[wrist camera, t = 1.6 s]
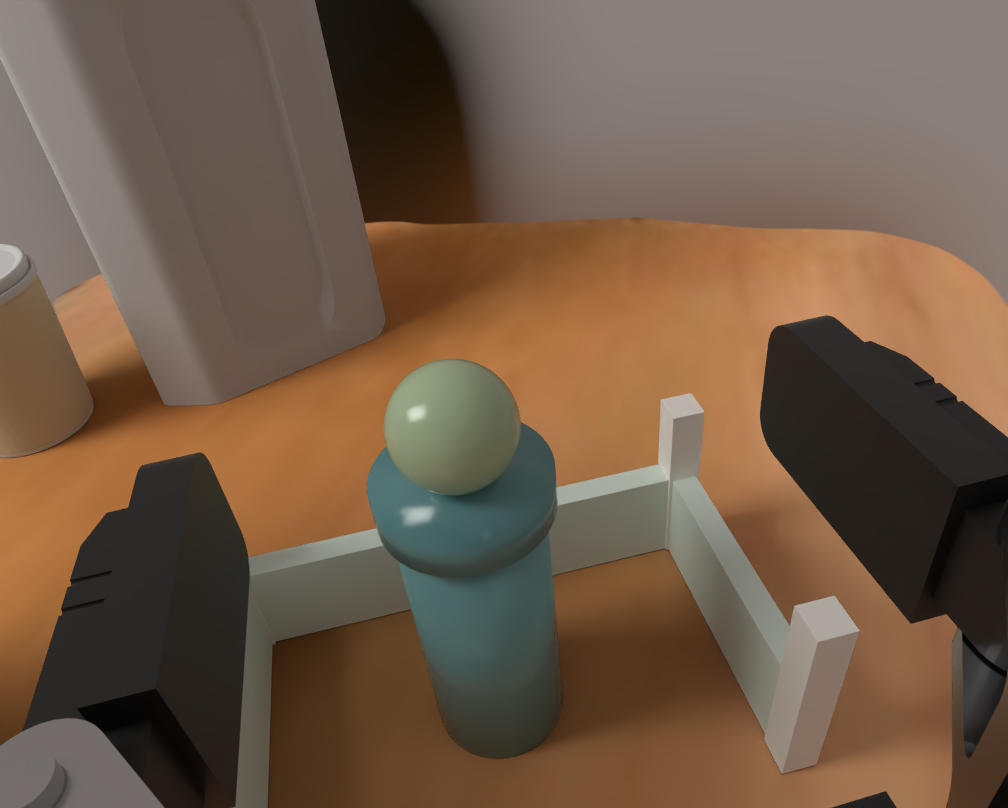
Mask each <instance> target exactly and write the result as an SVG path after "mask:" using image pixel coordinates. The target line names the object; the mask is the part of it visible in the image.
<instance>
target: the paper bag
mask: <svg viewBox="0 0 1008 808" xmlns="http://www.w3.org/2000/svg"><path fill="white" fill-rule="evenodd" d="M0 59H1V61H2V63H3V65H4V67H5V69H6V71H7V74H8V76H9V78H10V80H11V82H12V84H13V86H14V88H15V90H16V93H17V95H18V97H19V99H20V101H21V103H22V105H23V107H24V110H25V111H26V113H27V116H28V118H29V120H30V122H31V124H32V126H33V129H34V130H35V133H36V135H37V137H38V139H39V141H40V143H41V145H42V148H43V150H44V152H45V154H46V156H47V158H48V160H49V162H50V164H51V166H52V168H53V171H54V173H55V175H56V177H57V179H58V181H59V183H60V186H61V188H62V190H63V192H64V194H65V196H66V198H67V200H68V202H69V204H70V207H71V209H72V211H73V213H74V215H75V217H76V219H77V221H78V223H79V226H80V228H81V230H82V232H83V234H84V236H85V238H86V241H87V243H88V245H89V247H90V249H91V251H92V253H93V255H94V257H95V260H96V261H97V264H98V266H99V268H100V270H101V272H102V274H103V276H104V279H105V281H106V283H107V285H108V287H109V289H110V291H111V293H112V295H113V298H114V300H115V302H116V304H117V306H118V308H119V310H120V312H121V314H122V317H123V319H124V321H125V323H126V325H127V327H128V329H129V331H130V333H131V336H132V338H133V340H134V342H135V344H136V346H137V348H138V350H139V352H140V355H141V357H142V359H143V361H144V363H145V365H146V367H147V369H148V372H149V374H150V376H151V378H152V380H153V382H154V384H155V386H156V388H157V391H158V393H159V395H160V397H161V399H162V401H163V403H164V404H165V405H168V406H185V405H212V404H218V403H222V402H225V401H228V400H230V399H232V398H235V397H237V396H240V395H242V394H244V393H247V392H249V391H252V390H254V389H256V388H259V387H261V386H263V385H266V384H268V383H271V382H273V381H275V380H278V379H280V378H283V377H285V376H287V375H290V374H292V373H295V372H297V371H299V370H302V369H304V368H306V367H309V366H311V365H314V364H316V363H318V362H321V361H323V360H326V359H328V358H330V357H333V356H335V355H337V354H340V353H342V352H345V351H347V350H349V349H352V348H354V347H357V346H359V345H361V344H364V343H366V342H369V341H371V340H373V339H375V338H377V337H378V336H379V335H380V334H381V333H382V331H383V328H384V325H385V322H386V317H385V313H384V309H383V304H382V300H381V295H380V291H379V286H378V282H377V277H376V273H375V268H374V264H373V259H372V255H371V250H370V246H369V241H368V237H367V232H366V228H365V224H364V219H363V215H362V210H361V206H360V201H359V197H358V192H357V188H356V183H355V179H354V175H353V170H352V165H351V161H350V156H349V152H348V148H347V143H346V139H345V134H344V130H343V125H342V121H341V116H340V112H339V107H338V103H337V99H336V94H335V90H334V85H333V80H332V76H331V72H330V67H329V63H328V58H327V54H326V49H325V45H324V40H323V36H322V31H321V27H320V22H319V18H318V13H317V9H316V4H315V0H0Z"/></svg>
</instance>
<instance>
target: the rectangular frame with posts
mask: <svg viewBox="0 0 1008 808" xmlns="http://www.w3.org/2000/svg"><path fill="white" fill-rule="evenodd" d="M703 422H704V411H703V409H702V408H701V407H700V405H699V404H698V402H697V401H696V400H695V398H694V397H693V395H692V394H691V393H690V394H685V395H681V396H676V397H671V398H667V399H662V400H661V410H660V434H659V458H658V465H654V466H650V467H645V468H641V469H636V470H632V471H628V472H623V473H619V474H614V475H610V476H605V477H601V478H597V479H592V480H588V481H583V482H579V483H575V484H570V485H566V486H561V487H557V499H558V505H557V513H556V517H555V520H554V523H553V525H552V527H551V529H550V531H549V541H550V553H551V565H552V575H556V574H560V573H564V572H568V571H572V570H577V569H581V568H585V567H589V566H593V565H598V564H602V563H606V562H610V561H614V560H618V559H623V558H627V557H631V556H635V555H639V554H643V553H648V552H652V551H656V550H660V549H664V548H665V549H666V550H669V551H670V553H671V555H672V557H673V559H674V561H675V563H676V565H677V567H678V568H679V570H680V572H681V574H682V576H683V578H684V580H685V582H686V584H687V586H688V588H689V589H690V591H691V593H692V595H693V597H694V599H695V601H696V603H697V605H698V607H699V609H700V611H701V612H702V614H703V616H704V618H705V620H706V622H707V624H708V626H709V628H710V630H711V632H712V633H713V635H714V637H715V639H716V641H717V643H718V645H719V647H720V649H721V651H722V653H723V655H724V656H725V658H726V660H727V662H728V664H729V666H730V668H731V670H732V672H733V674H734V676H735V677H736V679H737V681H738V683H739V685H740V687H741V689H742V691H743V693H744V695H745V697H746V699H747V700H748V702H749V704H750V706H751V708H752V710H753V712H754V714H755V716H756V718H757V720H758V722H759V723H760V725H761V727H762V729H763V731H764V733H765V737H764V740H765V742H766V744H767V746H768V748H769V750H770V752H771V754H772V756H773V758H774V760H775V762H776V763H777V765H778V767H779V769H780V771H781V773H782V774H784V773H788V772H792V771H795V770H799V769H802V768H806V767H809V766H813V765H817V762H818V759H819V756H820V752H821V749H822V746H823V743H824V740H825V737H826V734H827V731H828V728H829V725H830V722H831V719H832V715H833V712H834V709H835V706H836V703H837V700H838V697H839V694H840V691H841V688H842V685H843V681H844V678H845V675H846V672H847V669H848V666H849V663H850V660H851V657H852V654H853V651H854V648H855V644H856V641H857V638H858V635H859V632H860V631H859V629H858V628H857V626H856V625H855V623H854V622H853V621H852V619H851V618H850V616H849V615H848V614H847V612H846V611H845V609H844V608H843V607H842V605H841V604H840V602H839V601H838V600H837V598H836V597H835V596H831V597H827V598H823V599H819V600H815V601H811V602H807V603H803V604H799V605H795V606H794V610H793V614H792V619H791V623H790V626H789V624H788V623H787V621H786V619H785V618H784V616H783V615H782V613H781V611H780V610H779V608H778V607H777V605H776V603H775V602H774V600H773V599H772V597H771V595H770V594H769V592H768V591H767V589H766V587H765V586H764V584H763V583H762V581H761V579H760V578H759V576H758V575H757V573H756V571H755V570H754V568H753V567H752V565H751V563H750V562H749V560H748V559H747V557H746V555H745V554H744V552H743V551H742V549H741V547H740V546H739V544H738V543H737V541H736V539H735V538H734V536H733V535H732V533H731V531H730V530H729V528H728V527H727V525H726V523H725V522H724V520H723V519H722V517H721V515H720V514H719V512H718V511H717V509H716V507H715V506H714V504H713V503H712V501H711V499H710V498H709V496H708V495H707V493H706V491H705V490H704V488H703V487H702V485H701V484H700V482H699V480H698V479H699V468H700V457H701V445H702V434H703ZM248 559H249V568H250V583H249V599H248V615H247V631H246V647H245V663H244V679H243V695H242V711H241V727H240V743H239V759H238V775H237V791H236V807H233V808H268V779H269V746H270V712H271V679H272V645H274V644H276V641H280V640H285V639H289V638H293V637H297V636H301V635H305V634H310V633H314V632H318V631H322V630H326V629H330V628H335V627H339V626H343V625H347V624H351V623H356V622H360V621H364V620H368V619H372V618H376V617H381V616H385V615H389V614H393V613H397V612H401V611H406V610H410V609H411V607H410V603H409V599H408V596H407V592H406V589H405V585H404V581H403V578H402V574H401V570H400V567H399V563H398V560H396V559H395V558H394V557H393V556H392V555H391V554H390V553H389V552H388V551H387V550H386V548H385V547H384V545H383V544H382V542H381V540H380V537H379V535H378V532H377V528H376V529H371V530H367V531H362V532H358V533H354V534H349V535H345V536H340V537H336V538H331V539H327V540H323V541H318V542H314V543H309V544H305V545H300V546H296V547H292V548H287V549H283V550H278V551H274V552H270V553H265V554H261V555H256V556H252V557H248Z"/></svg>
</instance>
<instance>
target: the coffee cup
mask: <svg viewBox="0 0 1008 808" xmlns="http://www.w3.org/2000/svg"><path fill="white" fill-rule="evenodd" d="M93 408H94V404H93V398H92V396H91V394H90V391H89V389H88V386H87V384H86V381H85V379H84V377H83V375H82V372H81V370H80V368H79V365H78V363H77V361H76V359H75V356H74V354H73V352H72V350H71V347H70V345H69V343H68V341H67V338H66V336H65V334H64V331H63V329H62V327H61V325H60V322H59V320H58V318H57V316H56V313H55V311H54V309H53V307H52V305H51V302H50V300H49V298H48V296H47V294H46V292H45V289H44V287H43V285H42V283H41V281H40V278H39V277H38V275H37V267H36V265H35V262H34V261H33V260H32V258H31V257H29V256H28V255H26V254H24V252H23V251H22V250H21V249H19V248H17V247H15V246H12V245H7V244H0V457H1V458H14V457H21V456H26V455H30V454H34V453H37V452H40V451H43V450H45V449H48V448H50V447H52V446H54V445H56V444H58V443H60V442H62V441H64V440H65V439H67V438H68V437H70V436H72V435H73V434H74V433H76V432H77V431H78V430H79V429H80V428H81V427H82V426H84V424H85V423H86V422H87V421H88V420H89V418H90V416H91V414H92V412H93Z"/></svg>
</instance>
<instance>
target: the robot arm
mask: <svg viewBox="0 0 1008 808" xmlns="http://www.w3.org/2000/svg"><path fill="white" fill-rule="evenodd" d="M956 397H957V396H955V395H954V394H953V393H952V392H951V391H949V390H948V389H947V388H946V387H944V386H943V385H942V384H941V383H937V384H936V383H935V381H934V378H933V377H932V376H931V375H929V374H928V373H927V372H926V371H924V370H923V369H922V368H921V367H919V366H918V365H917V364H916V363H914V362H913V361H912V360H911V359H909V358H908V357H907V356H904V355H902V354H900V353H897V352H895V351H893V350H890V349H888V348H886V347H883V346H881V345H879V344H876V343H874V342H872V341H869V342H863V341H862V340H861V339H860V338H859V337H857V336H856V335H855V334H854V333H853V332H851V331H850V330H849V329H848V328H847V327H845V326H844V325H843V324H842V323H841V322H839V321H838V320H837V319H835V318H834V317H832V316H827V315H826V316H822V317H817V318H812V319H808V320H803V321H799V322H794V323H790V324H785V325H781V326H777V327H776V328H774V329H773V331H772V332H771V335H770V338H769V343H768V351H767V359H766V367H765V376H764V384H763V392H762V400H761V409H760V421H761V427H762V432H763V435H764V438H765V441H766V443H767V445H768V447H769V449H770V450H771V452H772V453H773V455H774V456H775V457H776V458H777V460H778V461H779V462H780V463H781V465H782V466H783V467H784V468H785V469H786V471H787V472H788V473H789V474H790V476H791V477H792V478H793V479H794V481H795V482H796V483H797V484H798V485H799V487H800V488H801V489H802V490H803V492H804V493H805V494H806V495H807V497H808V498H809V499H810V500H811V501H812V503H813V504H814V505H815V506H816V508H817V509H818V510H819V511H820V513H821V514H822V515H823V516H824V517H825V519H826V520H827V521H828V522H829V524H830V525H831V526H832V527H833V529H834V530H835V531H836V532H837V533H838V535H839V536H840V537H841V538H842V540H843V541H844V542H845V543H846V545H847V546H848V547H849V548H850V549H851V551H852V552H853V553H854V554H855V556H856V557H857V558H858V559H859V561H860V562H861V563H862V564H863V565H864V567H865V568H866V569H867V570H868V572H869V573H870V574H871V575H872V577H873V578H874V579H875V580H876V581H877V583H878V584H879V585H880V586H881V588H882V589H883V590H884V591H885V593H886V594H887V595H888V596H889V597H890V599H891V600H892V601H893V602H894V604H895V605H896V606H897V607H898V609H899V610H900V611H901V612H902V613H903V615H904V616H905V617H906V618H907V620H908V621H909V622H910V623H911V624H912V623H915V622H919V621H923V620H926V619H930V618H934V617H937V616H941V615H944V614H947V615H948V616H949V618H950V619H951V620H952V621H953V622H954V623H955V624H956V626H957V629H956V632H955V634H954V637H953V640H952V781H951V788H950V793H949V798H948V802H947V806H946V808H1008V437H1007V436H1005V435H1004V434H1003V433H1002V432H1000V431H999V430H998V429H997V428H995V427H994V426H993V425H992V424H990V423H989V422H988V421H987V420H985V419H984V418H983V417H982V416H980V415H979V414H978V413H977V412H975V411H974V410H973V409H972V408H970V407H969V406H968V405H967V404H965V403H964V402H963V401H960V402H958V401H957V398H956ZM70 581H71V586H70V587H68V588H67V591H66V595H65V598H64V601H63V604H62V607H61V610H62V616H59V617H58V620H57V623H56V626H55V630H54V633H53V636H52V639H51V642H50V646H49V649H48V652H47V655H46V658H45V662H44V665H43V668H42V671H41V674H40V677H39V681H38V684H37V687H36V690H35V693H34V697H33V700H32V703H31V706H30V709H29V713H28V716H27V719H26V722H25V725H24V728H23V730H22V732H21V733H19V734H18V735H16V736H14V737H12V738H11V739H9V740H8V741H7V742H5V743H4V744H2V745H1V746H0V808H233V807H236V791H237V775H238V759H239V743H240V727H241V711H242V695H243V679H244V663H245V647H246V631H247V615H248V599H249V583H250V568H249V559H248V553H247V549H246V545H245V541H244V538H243V535H242V532H241V530H240V528H239V526H238V523H237V521H236V519H235V517H234V515H233V512H232V510H231V508H230V506H229V504H228V501H227V499H226V497H225V495H224V493H223V490H222V488H221V486H220V484H219V482H218V479H217V477H216V475H215V473H214V471H213V468H212V466H211V464H210V462H209V461H208V459H207V457H206V456H205V455H204V454H203V453H195V454H191V455H186V456H182V457H177V458H173V459H168V460H164V461H159V462H155V463H150V464H146V465H142V466H141V467H140V468H139V470H138V473H137V476H136V480H135V484H134V487H133V491H132V495H131V499H130V503H129V507H128V508H126V509H122V510H117V511H113V512H108V513H106V514H105V516H104V517H103V518H102V520H101V521H100V522H99V523H98V525H97V526H96V527H95V528H94V530H93V531H92V532H91V534H90V535H89V536H88V537H87V539H86V540H85V541H84V542H83V544H82V545H81V547H80V550H79V553H78V556H77V559H76V563H75V566H74V569H73V572H72V575H71V579H70ZM832 808H896V806H895V805H894V803H893V801H892V800H891V798H890V797H889V795H888V794H887V792H886V791H885V792H882V793H879V794H875V795H872V796H869V797H865V798H862V799H859V800H855V801H852V802H849V803H846V804H842V805H839V806H836V807H832Z"/></svg>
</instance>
